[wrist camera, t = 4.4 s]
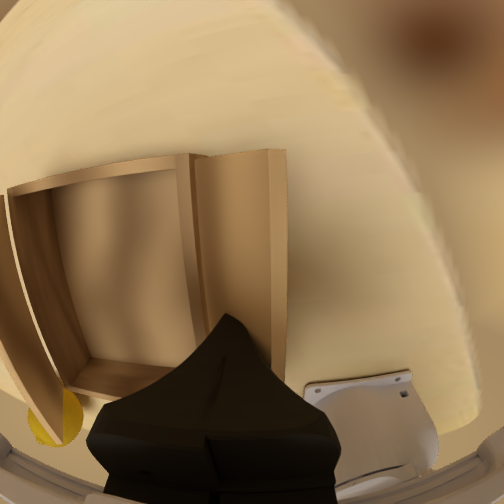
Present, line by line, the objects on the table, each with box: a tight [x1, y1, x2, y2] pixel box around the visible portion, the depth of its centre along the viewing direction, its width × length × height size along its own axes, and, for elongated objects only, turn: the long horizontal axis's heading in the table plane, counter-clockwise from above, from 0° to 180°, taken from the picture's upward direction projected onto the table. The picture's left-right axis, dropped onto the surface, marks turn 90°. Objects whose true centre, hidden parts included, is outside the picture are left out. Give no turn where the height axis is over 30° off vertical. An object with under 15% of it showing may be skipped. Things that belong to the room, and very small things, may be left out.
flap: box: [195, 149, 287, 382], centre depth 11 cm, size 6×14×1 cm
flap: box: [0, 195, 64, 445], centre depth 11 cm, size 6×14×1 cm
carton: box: [7, 153, 210, 401], centre depth 16 cm, size 12×15×4 cm
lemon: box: [28, 387, 84, 447], centre depth 18 cm, size 6×6×8 cm
